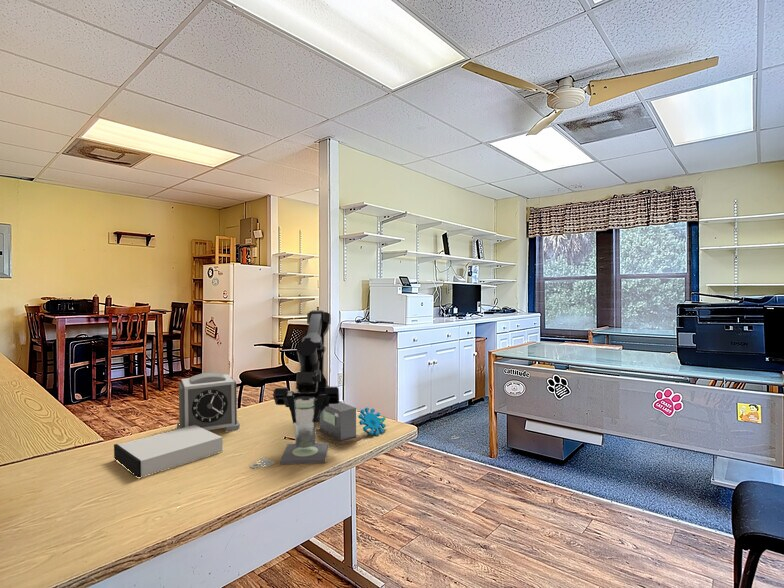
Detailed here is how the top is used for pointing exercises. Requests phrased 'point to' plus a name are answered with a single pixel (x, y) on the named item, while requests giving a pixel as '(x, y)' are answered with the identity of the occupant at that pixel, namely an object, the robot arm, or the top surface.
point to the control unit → (338, 424)
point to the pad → (304, 454)
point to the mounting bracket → (262, 463)
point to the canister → (304, 421)
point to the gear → (371, 421)
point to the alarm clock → (208, 402)
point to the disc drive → (167, 450)
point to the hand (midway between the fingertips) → (304, 422)
